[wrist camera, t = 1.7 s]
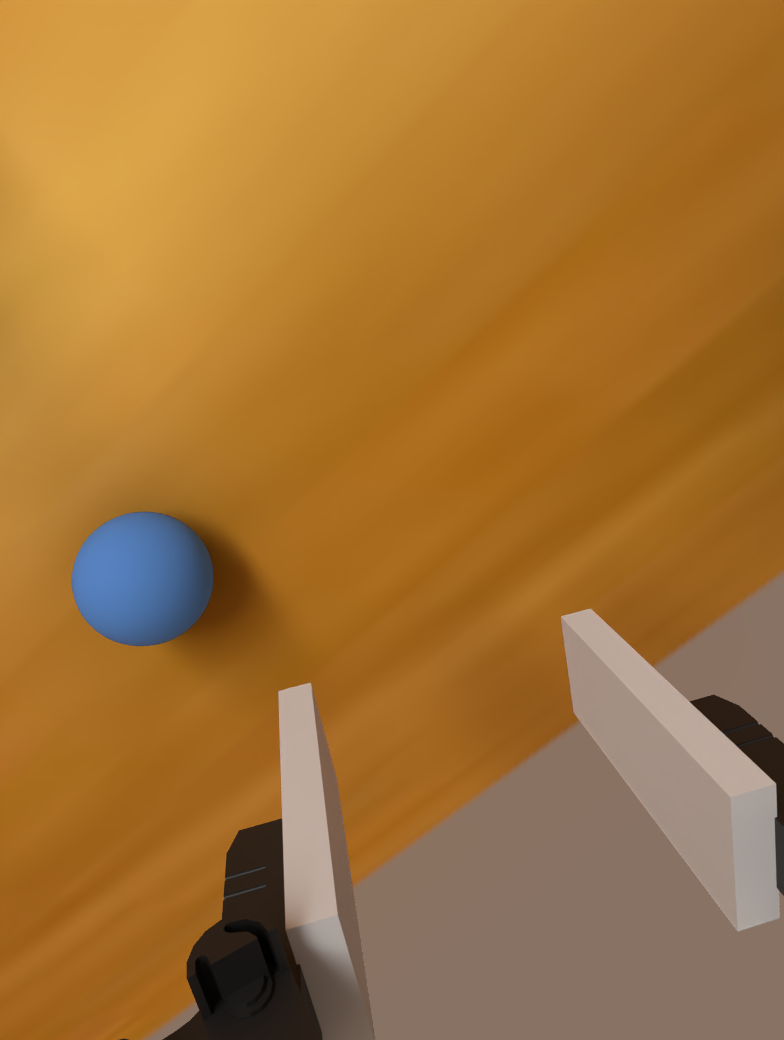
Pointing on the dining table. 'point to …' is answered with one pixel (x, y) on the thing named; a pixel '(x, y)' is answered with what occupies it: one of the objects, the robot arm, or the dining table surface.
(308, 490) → the dining table surface
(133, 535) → the ball
